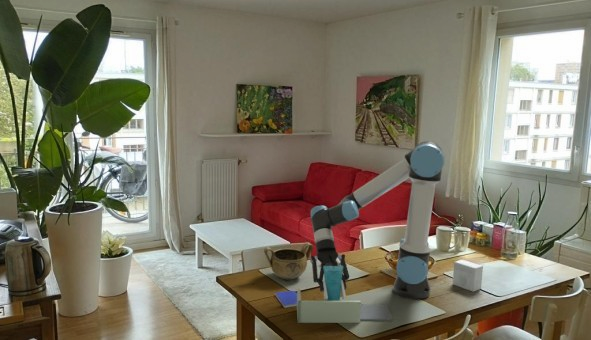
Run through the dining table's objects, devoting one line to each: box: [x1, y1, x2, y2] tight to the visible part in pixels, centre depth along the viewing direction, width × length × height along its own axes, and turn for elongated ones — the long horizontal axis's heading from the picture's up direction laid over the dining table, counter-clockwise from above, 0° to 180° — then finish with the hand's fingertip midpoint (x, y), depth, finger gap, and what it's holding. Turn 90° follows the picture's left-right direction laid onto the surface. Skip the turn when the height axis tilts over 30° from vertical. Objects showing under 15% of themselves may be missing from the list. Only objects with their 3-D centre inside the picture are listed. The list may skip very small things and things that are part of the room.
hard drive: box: [275, 290, 303, 309], centre depth 191 cm, size 2×8×12 cm
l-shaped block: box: [296, 288, 362, 324], centre depth 177 cm, size 23×11×8 cm, turn 91°
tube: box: [323, 265, 343, 301], centre depth 177 cm, size 7×5×19 cm, turn 99°
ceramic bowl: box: [263, 241, 314, 280], centre depth 213 cm, size 22×17×15 cm
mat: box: [360, 304, 394, 322], centre depth 180 cm, size 12×12×1 cm
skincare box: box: [452, 259, 484, 292], centre depth 206 cm, size 10×6×10 cm, turn 37°
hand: (335, 298), depth 174 cm, fingers closed on tube, 6 cm apart
